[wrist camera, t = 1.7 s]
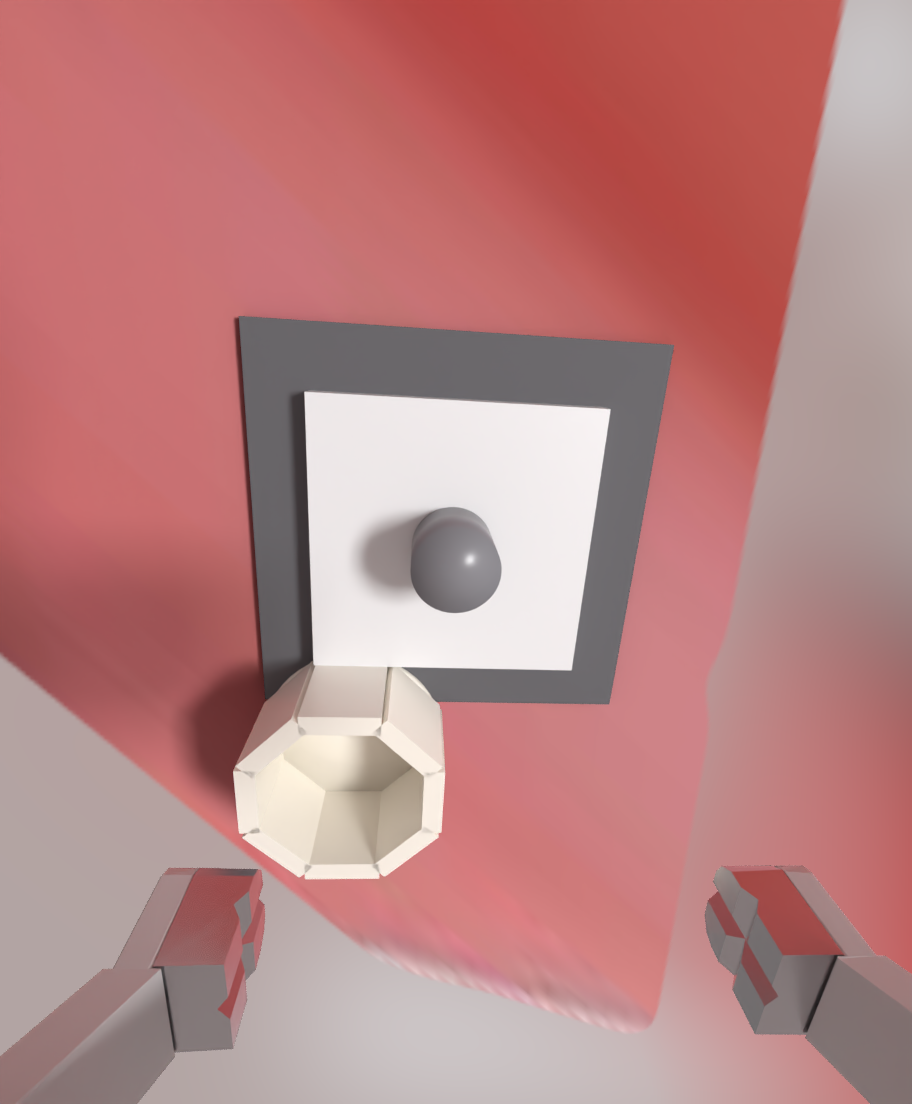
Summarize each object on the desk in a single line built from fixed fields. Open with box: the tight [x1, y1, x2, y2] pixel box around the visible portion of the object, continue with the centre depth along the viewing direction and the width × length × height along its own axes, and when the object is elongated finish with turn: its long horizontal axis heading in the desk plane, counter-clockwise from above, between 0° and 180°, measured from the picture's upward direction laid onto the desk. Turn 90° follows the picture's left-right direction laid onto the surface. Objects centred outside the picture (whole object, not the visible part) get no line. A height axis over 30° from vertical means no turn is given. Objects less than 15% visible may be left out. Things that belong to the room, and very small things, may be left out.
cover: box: [304, 390, 611, 670], centre depth 26 cm, size 14×14×5 cm
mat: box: [239, 316, 674, 704], centre depth 28 cm, size 20×20×1 cm
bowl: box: [233, 662, 445, 879], centre depth 29 cm, size 10×10×6 cm
